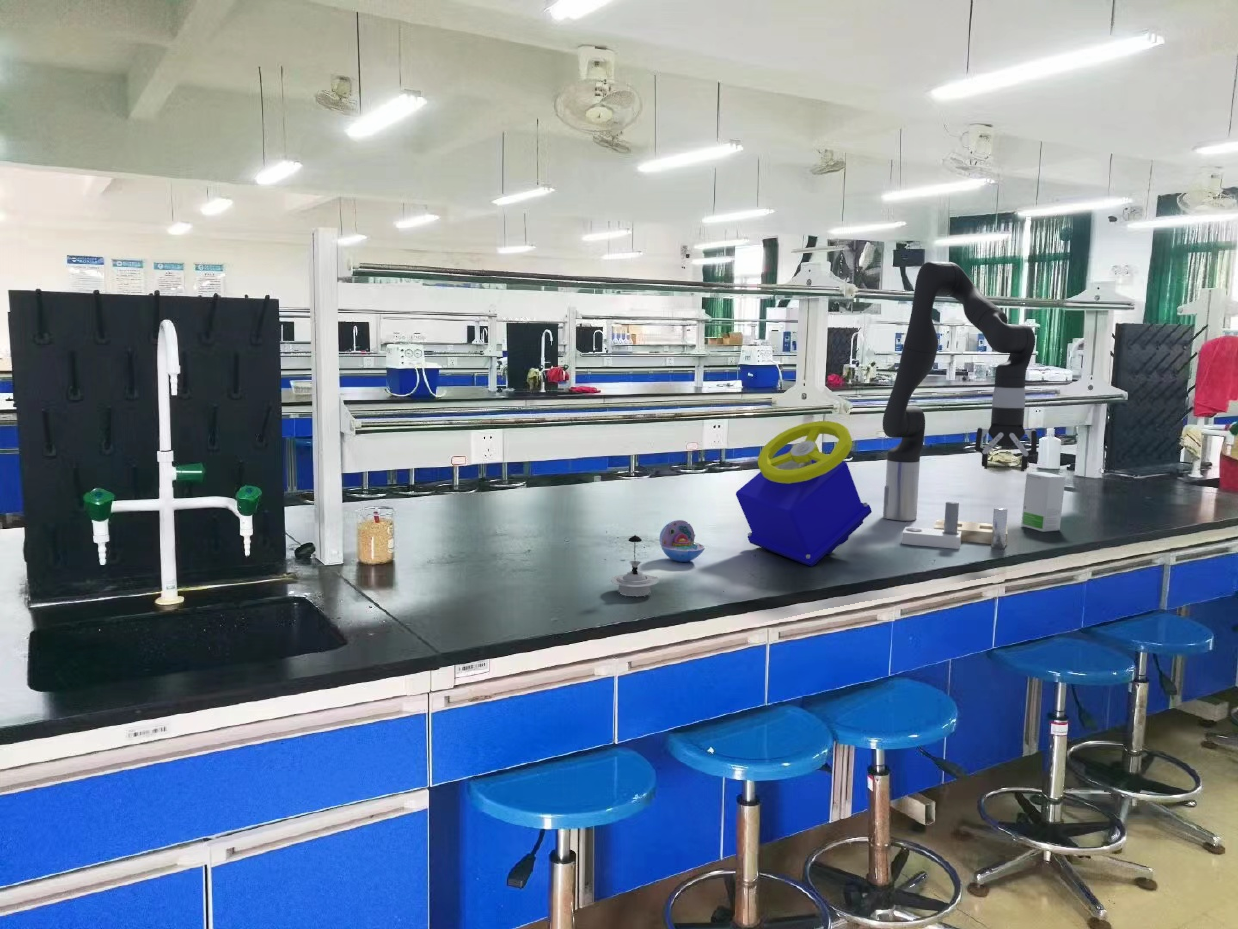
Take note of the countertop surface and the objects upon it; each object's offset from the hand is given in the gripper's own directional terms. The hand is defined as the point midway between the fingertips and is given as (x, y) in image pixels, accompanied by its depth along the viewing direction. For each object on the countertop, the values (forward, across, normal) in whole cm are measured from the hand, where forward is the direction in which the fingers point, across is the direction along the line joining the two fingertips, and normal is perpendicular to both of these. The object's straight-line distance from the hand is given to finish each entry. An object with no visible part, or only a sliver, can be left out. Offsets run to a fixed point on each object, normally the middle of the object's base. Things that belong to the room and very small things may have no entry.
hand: (1004, 469), depth 228 cm
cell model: (+20, -69, -47) cm, 86 cm away
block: (+20, -16, -2) cm, 26 cm away
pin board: (+20, -7, +10) cm, 23 cm away
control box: (+20, -43, -31) cm, 57 cm away
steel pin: (+20, 0, 0) cm, 20 cm away
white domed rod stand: (+20, -70, -76) cm, 105 cm away
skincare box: (+20, +11, +31) cm, 38 cm away
